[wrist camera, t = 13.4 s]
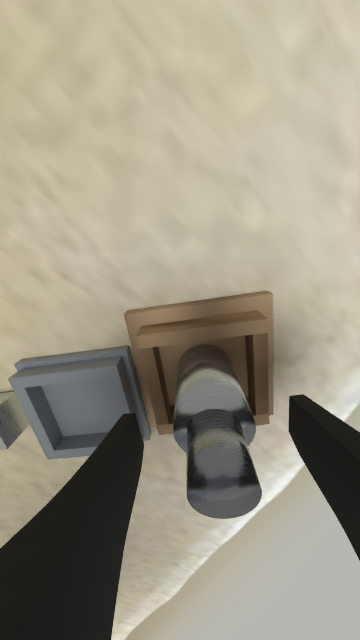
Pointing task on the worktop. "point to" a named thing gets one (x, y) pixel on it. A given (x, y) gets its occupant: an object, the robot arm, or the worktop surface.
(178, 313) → the brown square tray
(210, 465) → the stepped metal cylinder
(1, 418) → the grey stepped block
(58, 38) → the worktop surface
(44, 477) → the worktop surface
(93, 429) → the grey square tray
